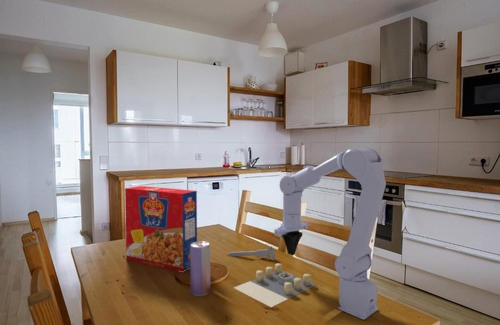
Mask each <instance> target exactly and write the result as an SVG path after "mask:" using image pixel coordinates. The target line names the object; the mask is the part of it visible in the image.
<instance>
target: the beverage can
mask: <svg viewBox="0 0 500 325" xmlns="http://www.w3.org/2000/svg"><path fill="white" fill-rule="evenodd" d="M189 271H190V273H189V274H190V276H189V278H190V280H189V282H190V285H189V286H190V293H191V295H192V296H195V297H204V296H207V295H209V293H210V291H211V246H210V242H208V241H204V240H200V241H198V240H197V242H193V243H191V247H190V269H189Z"/></svg>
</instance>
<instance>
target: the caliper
mask: <svg viewBox="0 0 500 325" xmlns="http://www.w3.org/2000/svg"><path fill="white" fill-rule="evenodd" d="M226 256H230V257H241V256H242V257H243V256H245V257H246V256H257V258H263V257H265V258H266V260H271V261H275V260H276V252H275V250H274V248H273V246H267V248H266V249H257V250H250V251H249V250H248V251H246V250H245V251H232V252H231V251H230V252H229V253H227V255H226Z"/></svg>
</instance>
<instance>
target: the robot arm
mask: <svg viewBox="0 0 500 325" xmlns="http://www.w3.org/2000/svg"><path fill="white" fill-rule="evenodd" d="M383 164H384V159H383V158H382V156H381V155H380V154H379V152H378V151H377V150H375V149H373V148H368V147H367V148H349V149H347V150H346V151H342V152H339V153H338V154H336V155H335V156H333V157H331V158H329V159H328V160H326V161H324V162H322V163H320V164H319V165H317V166H314V165H309V164H308V165H307V164H306V165H304V166H303V167H302V168H303V169H300V170H299V171H293V172H292V175H284V176H283V177H282V178H281V179H280V181H279V189H280V192H282V194H283V196H282V200H283V201H282V203H283V204H282V223H281V224H280V227H278V228H274V231H273V232H274V234H273V236H275V237H278V238H280V237H281V238H282V239H283V242H284V245H285V247H286V251H287V252H286V253H287V254H288V255H291V256H294V255H296V252H297V249H298V245H299V242H300V240H301V238H302V237H303V232H302V231H301V230H307V229H308V228H309V227H308V226H309V223H308V222H306V221H301V220H302V197H303V192H304V190H306V189H308V188H310V187H311V186H312V187H313V186H315V185H317V184H319V183H320V182H321V178H322V177H324V176H326V175H328V174H331V173H333V172H336V171H339V170H345V171H347V172H348V173H349V174H350V175H351V176H352V177H353V178H355V180H357V181H358V183H359V184H360V185H361V187H362V188H361V191H360V195H359V199H358V203H357V206H356V211H355V215H354V219H353V222H352V224H351V229H350V233H349V236H348V240H347V242H346V243H345V245H344V246H343V247H342V249H341V251H340V253H339V255H338V256H337V257H336V259H335V262H334V268H335V271H336V272H337V274H338V277H339V284H338V285H339V286H338V287H339V292H338V304H339V305H338V306H337V307H336V309H338V310H340V311H342V312H344V313H347V314H350V315H352V316H354V317H356V318H358V319H360V320H366V319H368V317H370V316H371V315H373V314H374V313H375V312H377V311H378V309H379V308H378V307H377V306H378V287H377V283H376V282H374V281H372V280H371V279H369V277H368V271H369V269H371V267H372V265H373V261H372V260H373V259H372V252H373V250H372V248H371V247H370V243H371V239H372V235H373V232H374V229H375V225H376V221H377V218H378V215H379V214H378V213H379V211H380V208H381V204H382V201H383V197H384V193H385V190H386V186H387V182H386V178H385V177H386V176H385V172H384V167H383Z"/></svg>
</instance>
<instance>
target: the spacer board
mask: <svg viewBox="0 0 500 325" xmlns="http://www.w3.org/2000/svg"><path fill="white" fill-rule="evenodd" d="M279 273H288V274H290V273H289V272H287V271H283V263H278V262H277V263H275V264H274V267H273V266H266V267H265V275H264V270H259V269H258V270H256V272H255V278H254V279H252V280H249V281H247V282H244V283H241V284H239V285H236V286H234V287H233V289H235V290H237V291H238V292H240V293H242V294H244V295H246V296H248V297H250V298H252V299H254V300H255V301H258V302H259V303H262V304H264V305H266V306H268V307H269V308H273V307H275V306H277V305H279V304H281V303H283V302H285V301H286V300H289V299H291V298H293V297H295V296H297V295H299V294H301V293H303V292H305V291H307V290H309V289H311V288H314V287H315V286H317V283H315V282H312V275H311V274H310V273H304V274H303V276H302V277H303V278H301V277H299V276H297V275H294V274H292V275H293V281H292V283H291V282H285V283H284V285H282V284H280V283H278V275H279Z"/></svg>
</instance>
